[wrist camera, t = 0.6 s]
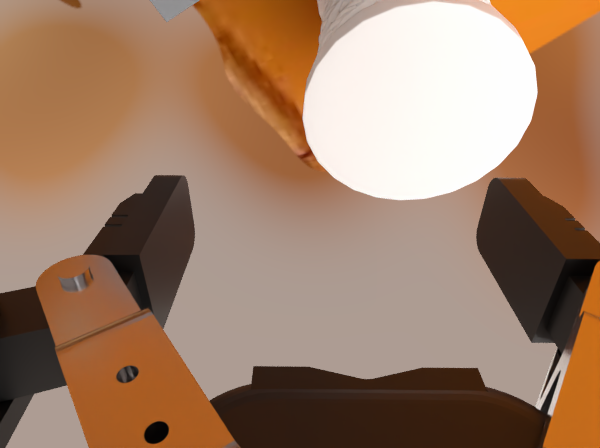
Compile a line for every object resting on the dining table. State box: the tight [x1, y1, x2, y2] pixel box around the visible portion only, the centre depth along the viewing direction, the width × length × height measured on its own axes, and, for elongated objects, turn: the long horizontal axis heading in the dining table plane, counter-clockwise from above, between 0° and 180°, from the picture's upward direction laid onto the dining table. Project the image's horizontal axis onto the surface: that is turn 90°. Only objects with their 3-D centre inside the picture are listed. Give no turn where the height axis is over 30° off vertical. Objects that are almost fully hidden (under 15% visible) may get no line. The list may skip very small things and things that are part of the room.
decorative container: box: [302, 0, 537, 200], centre depth 27 cm, size 12×12×18 cm
